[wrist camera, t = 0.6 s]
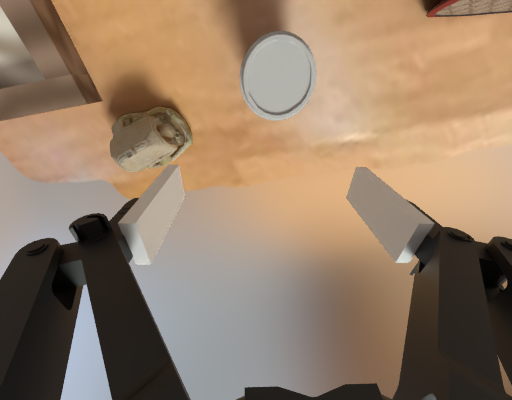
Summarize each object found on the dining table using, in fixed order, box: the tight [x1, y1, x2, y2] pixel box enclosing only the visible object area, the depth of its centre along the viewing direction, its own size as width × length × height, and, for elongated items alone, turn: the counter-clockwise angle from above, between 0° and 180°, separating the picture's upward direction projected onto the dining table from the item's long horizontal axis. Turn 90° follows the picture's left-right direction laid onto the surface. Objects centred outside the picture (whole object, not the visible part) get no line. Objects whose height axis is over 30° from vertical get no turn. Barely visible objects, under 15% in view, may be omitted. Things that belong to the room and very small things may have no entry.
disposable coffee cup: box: [240, 31, 316, 121], centre depth 29 cm, size 10×10×12 cm
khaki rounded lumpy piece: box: [110, 107, 193, 172], centre depth 35 cm, size 14×11×10 cm
